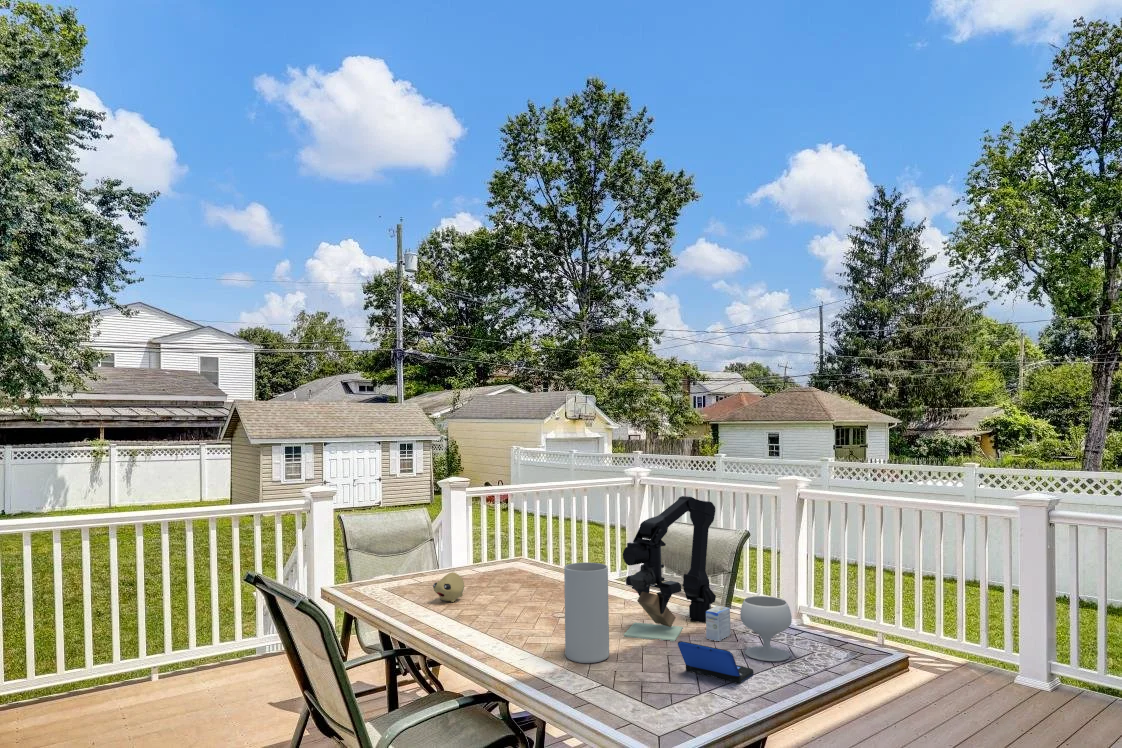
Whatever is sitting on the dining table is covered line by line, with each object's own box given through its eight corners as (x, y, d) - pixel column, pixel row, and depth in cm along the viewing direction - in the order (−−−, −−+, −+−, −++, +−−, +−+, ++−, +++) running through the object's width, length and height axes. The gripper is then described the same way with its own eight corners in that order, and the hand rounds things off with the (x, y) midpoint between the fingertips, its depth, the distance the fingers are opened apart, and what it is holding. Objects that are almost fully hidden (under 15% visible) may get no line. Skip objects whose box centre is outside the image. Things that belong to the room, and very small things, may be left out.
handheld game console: (755, 675, 174) (754, 638, 175) (732, 690, 164) (731, 651, 165) (701, 662, 184) (700, 627, 185) (677, 676, 174) (676, 639, 175)
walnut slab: (675, 617, 213) (657, 595, 208) (671, 627, 211) (652, 604, 207) (660, 613, 218) (642, 591, 213) (655, 622, 216) (637, 600, 211)
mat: (683, 628, 215) (683, 626, 215) (674, 641, 202) (674, 639, 202) (634, 624, 220) (634, 622, 220) (623, 636, 207) (623, 634, 207)
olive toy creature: (428, 603, 250) (428, 574, 251) (448, 596, 260) (449, 569, 261) (448, 607, 245) (448, 577, 246) (469, 599, 255) (469, 571, 256)
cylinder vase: (607, 665, 182) (605, 571, 184) (562, 663, 184) (560, 570, 186) (611, 650, 194) (609, 562, 196) (569, 648, 196) (567, 562, 199)
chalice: (741, 661, 184) (739, 605, 185) (741, 645, 197) (739, 593, 198) (795, 665, 180) (792, 608, 181) (791, 649, 193) (789, 596, 195)
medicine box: (717, 633, 209) (716, 605, 210) (731, 636, 206) (730, 607, 207) (706, 639, 203) (705, 610, 204) (719, 642, 200) (718, 613, 201)
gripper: (613, 560, 214) (614, 610, 213) (658, 569, 201) (659, 622, 199) (636, 556, 222) (638, 604, 220) (681, 564, 208) (683, 615, 207)
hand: (653, 611), depth 211 cm, fingers closed on walnut slab, 6 cm apart
